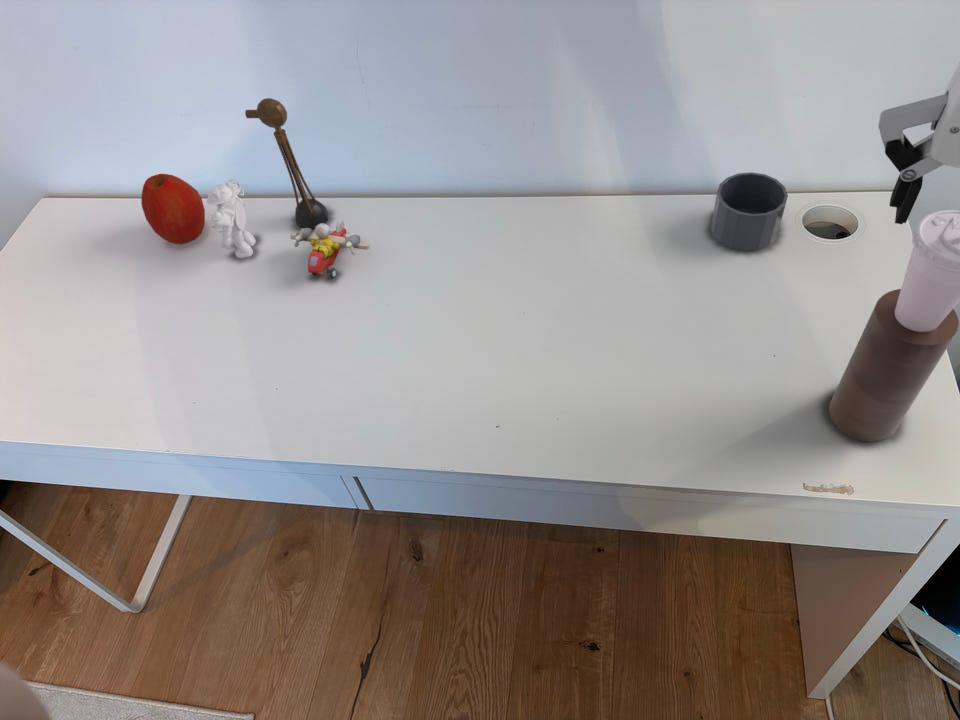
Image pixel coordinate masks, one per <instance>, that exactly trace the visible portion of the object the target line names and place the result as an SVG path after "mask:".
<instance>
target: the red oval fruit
mask: <svg viewBox="0 0 960 720" xmlns="http://www.w3.org/2000/svg"><path fill="white" fill-rule="evenodd" d="M140 201H141V208H142V211H143V214H144V217H145V220H146V222H147V224H149V226H150V227H151V229H152V230H153V232H154V233H155V234H156V235H157V236H159V237H160V239H161V238H162V239H163V240H164V241H166V242H167V243H171V244H174V245H184V244H188V243H191V242H193V241H195V240H196V239H198V238H199V237H200V236H201V235H202V233H203V231H204V228H205V223H206V218H205V217H206V211H205V210H206V209H205V205H204V202H203V199H202V195H200V193H199V191H198V189H196V188H195V187H194V186H192V185H191V184H190V183H189V182H187V181H185V180H184V179H182V178H180V177H178V176H176V175H173V174H169V173H158V174H154V175H151V176H149V177H148V178H146V180H145V181H144V183H143V186H142V190H141V200H140Z"/></svg>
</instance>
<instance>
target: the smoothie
mask: <svg viewBox="0 0 960 720" xmlns="http://www.w3.org/2000/svg"><path fill="white" fill-rule="evenodd" d="M911 235H912V245H913V247H912V250H911V253H910V257H909V260H908V263H907V267H906V269H905V270H906V271H905V274H904V277H903V281H902V285H901V288H900V289H901V291H900V294H899V298H898V301H897V305H896V308H895V317H896V319H897V321H898V322H899V323H900V324H901V325H903V326H904V327H906V328H908V329H910V330H913V331H918V332H928V331H932V330H934V329H936V328H937V327H938V326H939V325H940V323H941V322H942V321H943V320H944V319H945V317H946V316H947V315H948V314H949V313H950V312H951V310H952V309H955V307H956V306H957V305H958V303H959V302H960V210H957V209H944V210H938V211H935V212H931V213H929V214H927V215H925V216H924V217H923V218H921V220H920V221H919V222H918V223H917V226H916V227H915V228H914V231H913V232H912V234H911Z"/></svg>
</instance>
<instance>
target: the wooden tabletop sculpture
mask: <svg viewBox="0 0 960 720" xmlns="http://www.w3.org/2000/svg"><path fill="white" fill-rule="evenodd" d="M244 113H245V117H246V119H259V121H260V122H261V123H262V124H264V125H265V126H266V127H268V128H272V129H273V128H274V130H275V131H273V136H274V138H275V141H276V143H277V146H278V149H279V151H280V153H281V156H282V159H283V162H284V165H285V167H286V170H287V172H288V175H289V176H288V177H289V178H290V182H291V185H292V188H293V192H294V196H295V197H294V198H295V202H296V207H295V211H294V213H295V215H294V218H295V223H296V226H297V227H299V228H300V230H301V229H302V228H310V229H311V231H315V228H316V226H317V225H318V224H321V223H323V224H326V223H327V222H328V221H329V212H328V210H327V208H326V206H325V205H324V204H323V203H322V202H320V201H319V200H318V199H316V197H315V196H314V195H313V193H312V191H311V190H310V187H309V185H308V184H307V182H306V180H305V178H304V176H303V174H302V172H301V169H300V166H299V164H298V162H297V159H296V157H295V154H294V152H293V149H292V147H291V144H290V141H289V139H288V136H287V133H286V130H285V129H284V128H282V127H283V126H284V125H285V124H286V122H287V120H288V111H287V109H286V107H285V106H284V105H283V104H282V103H281V102H280V100H277V99H275V98H272V97H266V98H263V99H262V100H260V101H259V102H258V104H257V106H256V109H246V110H245V112H244ZM304 187H305V188H304ZM305 189H306V190H305ZM297 190H298V191H297ZM306 191H307V192H308V194H309V196H310V197H311V198H309V197H308V195H307V193H306ZM298 193H299V195H300V198H301V200H300V201H299V196H298Z"/></svg>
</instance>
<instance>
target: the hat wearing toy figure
mask: <svg viewBox="0 0 960 720" xmlns="http://www.w3.org/2000/svg"><path fill="white" fill-rule="evenodd" d="M241 191H242V192H241ZM239 196H241V197H244V196H245V189H244V187H242V182H240V181H236V180H235V178H234V179H232V178H231V179H229V180H228V181H226V182H225V183H220V184H218V185H216V186H214V187H213V188H212V189H211V192H209V193H208V195H207V198H206V203H207V204H208V205H209V206H216V208H217V210H213V212H214V213H213V214H211V215H210V216H211V218H210V220H209V224H210V225H211V224H212V226H211V228H213V229H215V230H216V231H217V232H218V233H222V240H221V242H220V243H221V246H222V247H223V248H224V249H225V250H230V249H231V244H232V241H233V244H234V246H235V247H236V248H237V250H235V252H234V253H235V256H236V258H238V259H244V258H249V257H252V255H253V254H254V250H253V248H252V247H253V246H254V245H256V242H257V240H256V238H255V237H254V235H253V234H252V233H251V232H249V231H248V230H247V226H246V224H247V211H246V207H245V206H246V203H245V202H244V201H243V200H242V199H241V198H240V197H239ZM215 211H216V212H215ZM218 228H222V229H218Z"/></svg>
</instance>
